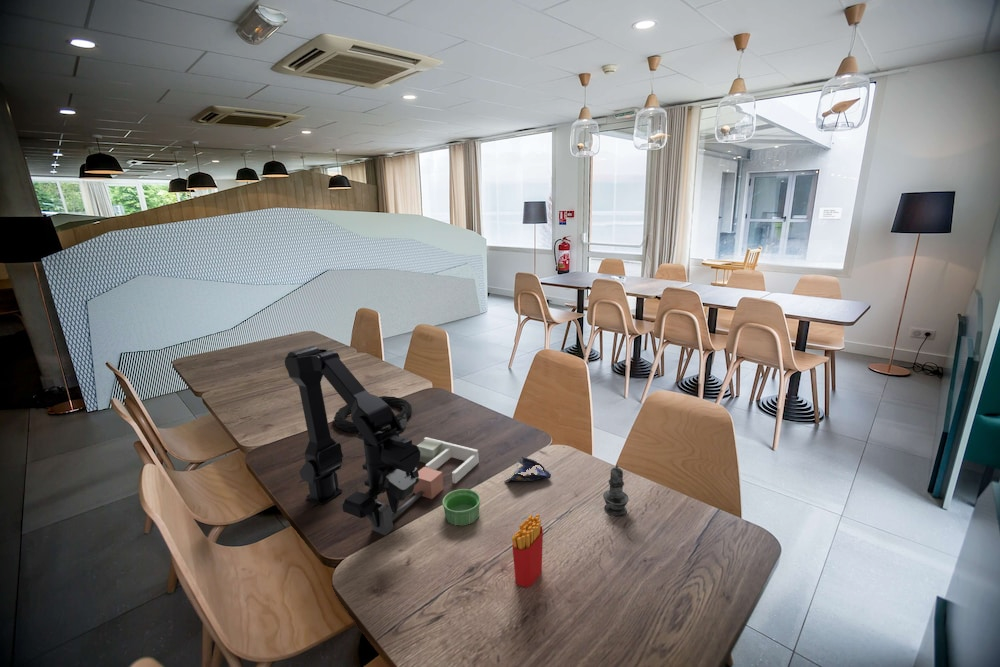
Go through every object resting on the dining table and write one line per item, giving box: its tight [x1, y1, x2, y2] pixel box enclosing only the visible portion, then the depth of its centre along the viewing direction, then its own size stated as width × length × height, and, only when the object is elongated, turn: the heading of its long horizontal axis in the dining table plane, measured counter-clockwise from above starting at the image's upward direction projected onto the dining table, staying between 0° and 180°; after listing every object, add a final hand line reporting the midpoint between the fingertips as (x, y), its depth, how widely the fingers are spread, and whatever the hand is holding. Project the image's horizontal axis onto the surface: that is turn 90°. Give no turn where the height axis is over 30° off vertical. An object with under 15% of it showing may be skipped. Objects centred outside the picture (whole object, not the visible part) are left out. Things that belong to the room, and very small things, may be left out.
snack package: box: [505, 456, 552, 483], centre depth 122 cm, size 12×6×12 cm
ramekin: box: [441, 488, 481, 527], centre depth 107 cm, size 9×9×4 cm
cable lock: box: [333, 395, 413, 434], centre depth 162 cm, size 28×4×30 cm
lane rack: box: [423, 436, 480, 484], centre depth 129 cm, size 12×19×4 cm, turn 61°
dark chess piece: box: [603, 464, 629, 518], centre depth 106 cm, size 6×6×12 cm
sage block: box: [416, 439, 443, 464], centre depth 133 cm, size 5×6×5 cm
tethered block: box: [371, 466, 444, 536], centre depth 110 cm, size 21×6×6 cm, turn 151°
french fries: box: [511, 513, 544, 588], centre depth 87 cm, size 8×4×12 cm, turn 145°
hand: (385, 519), depth 104 cm, fingers closed on tethered block, 5 cm apart
